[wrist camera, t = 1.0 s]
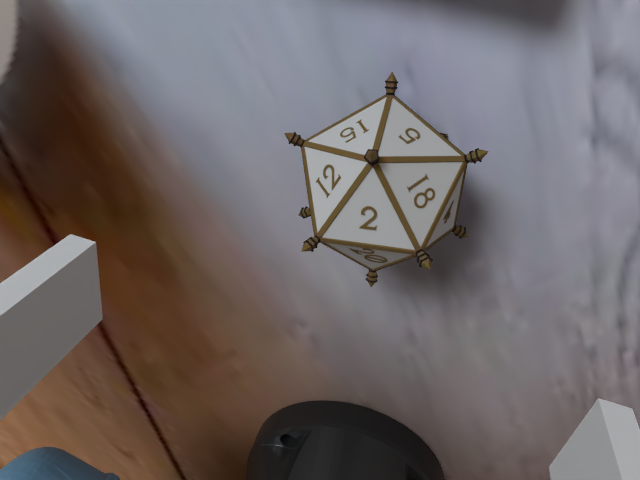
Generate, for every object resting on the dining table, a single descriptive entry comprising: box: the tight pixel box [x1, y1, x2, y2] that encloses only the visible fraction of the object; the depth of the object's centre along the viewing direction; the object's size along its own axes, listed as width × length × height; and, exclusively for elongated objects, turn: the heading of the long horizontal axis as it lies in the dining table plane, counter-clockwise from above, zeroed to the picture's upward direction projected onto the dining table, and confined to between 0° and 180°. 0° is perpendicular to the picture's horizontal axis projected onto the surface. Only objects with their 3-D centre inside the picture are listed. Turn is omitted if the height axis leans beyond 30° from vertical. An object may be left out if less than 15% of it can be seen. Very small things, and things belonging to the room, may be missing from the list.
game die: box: [285, 72, 488, 287], centre depth 22 cm, size 9×8×10 cm
